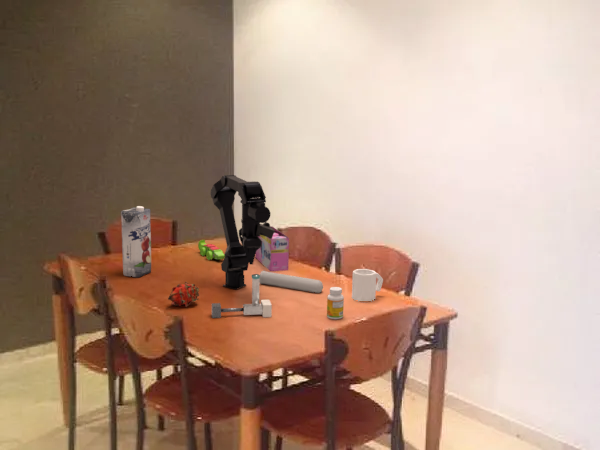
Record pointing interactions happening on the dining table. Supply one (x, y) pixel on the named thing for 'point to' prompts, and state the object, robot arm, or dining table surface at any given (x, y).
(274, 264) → the gum box
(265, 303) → the socket block
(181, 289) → the dragon fruit
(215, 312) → the rod stand
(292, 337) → the dining table surface
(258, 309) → the tube
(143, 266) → the juice carton
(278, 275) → the tube
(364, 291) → the mug
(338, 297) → the supplement bottle
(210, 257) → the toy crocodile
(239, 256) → the robot arm
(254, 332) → the dining table surface
